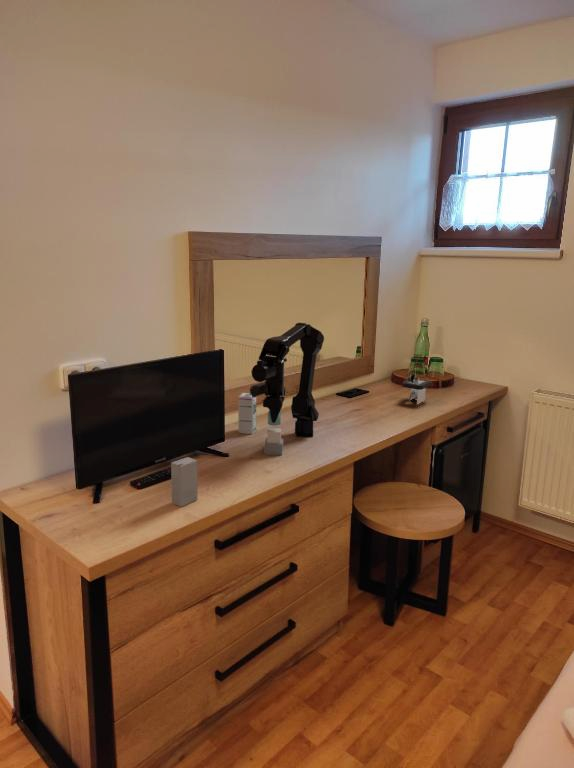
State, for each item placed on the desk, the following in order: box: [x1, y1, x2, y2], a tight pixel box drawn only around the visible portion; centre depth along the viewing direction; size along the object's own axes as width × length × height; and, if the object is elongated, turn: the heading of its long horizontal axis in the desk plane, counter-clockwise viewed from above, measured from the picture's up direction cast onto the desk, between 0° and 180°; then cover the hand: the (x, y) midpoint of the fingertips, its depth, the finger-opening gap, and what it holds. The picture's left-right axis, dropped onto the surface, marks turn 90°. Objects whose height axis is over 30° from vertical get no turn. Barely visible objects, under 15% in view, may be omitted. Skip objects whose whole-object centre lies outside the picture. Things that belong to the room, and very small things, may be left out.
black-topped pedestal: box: [402, 372, 432, 405], centre depth 267 cm, size 28×26×13 cm
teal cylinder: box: [267, 410, 282, 426], centre depth 198 cm, size 4×4×4 cm
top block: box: [266, 427, 282, 443], centre depth 200 cm, size 4×4×4 cm
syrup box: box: [237, 392, 257, 435], centre depth 219 cm, size 6×6×14 cm
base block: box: [264, 437, 285, 456], centre depth 201 cm, size 6×6×4 cm
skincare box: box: [170, 456, 198, 507], centre depth 159 cm, size 6×4×12 cm
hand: (274, 420), depth 199 cm, fingers closed on teal cylinder, 4 cm apart
